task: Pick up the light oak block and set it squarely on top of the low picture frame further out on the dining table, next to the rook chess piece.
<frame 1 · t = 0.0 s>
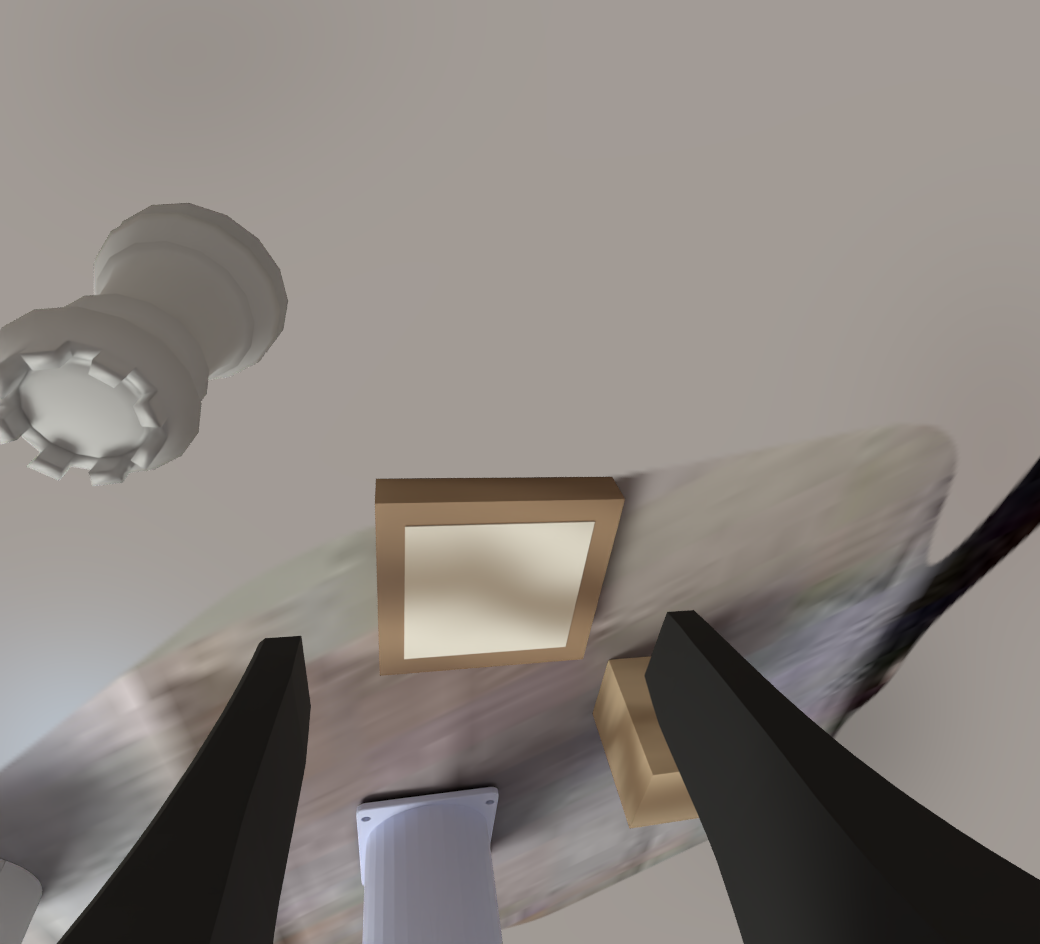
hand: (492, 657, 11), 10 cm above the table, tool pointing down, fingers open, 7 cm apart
oak block: (639, 683, 31), on the table
rook chess piece: (207, 284, 16), on the table
picture frame: (489, 567, 24), on the table
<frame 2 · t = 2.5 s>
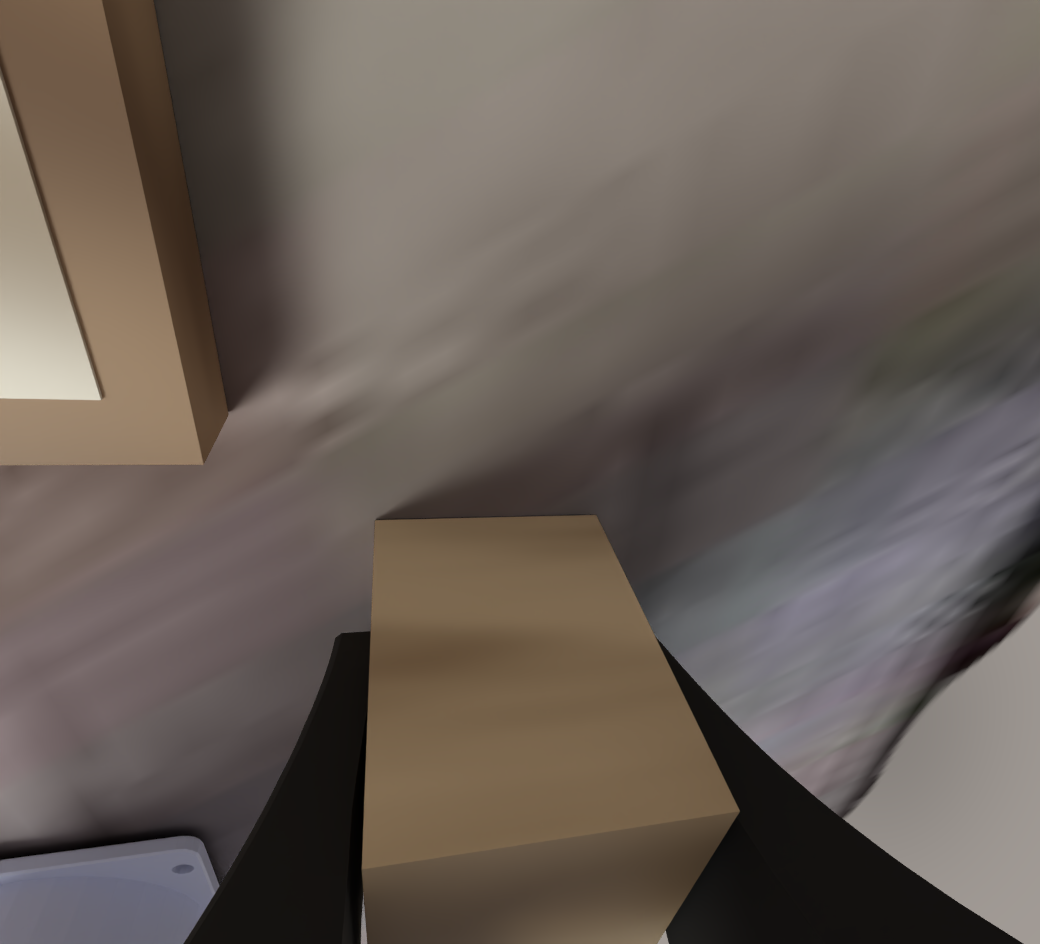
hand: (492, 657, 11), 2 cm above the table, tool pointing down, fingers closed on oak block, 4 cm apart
oak block: (481, 597, 13), on the table, touching gripper
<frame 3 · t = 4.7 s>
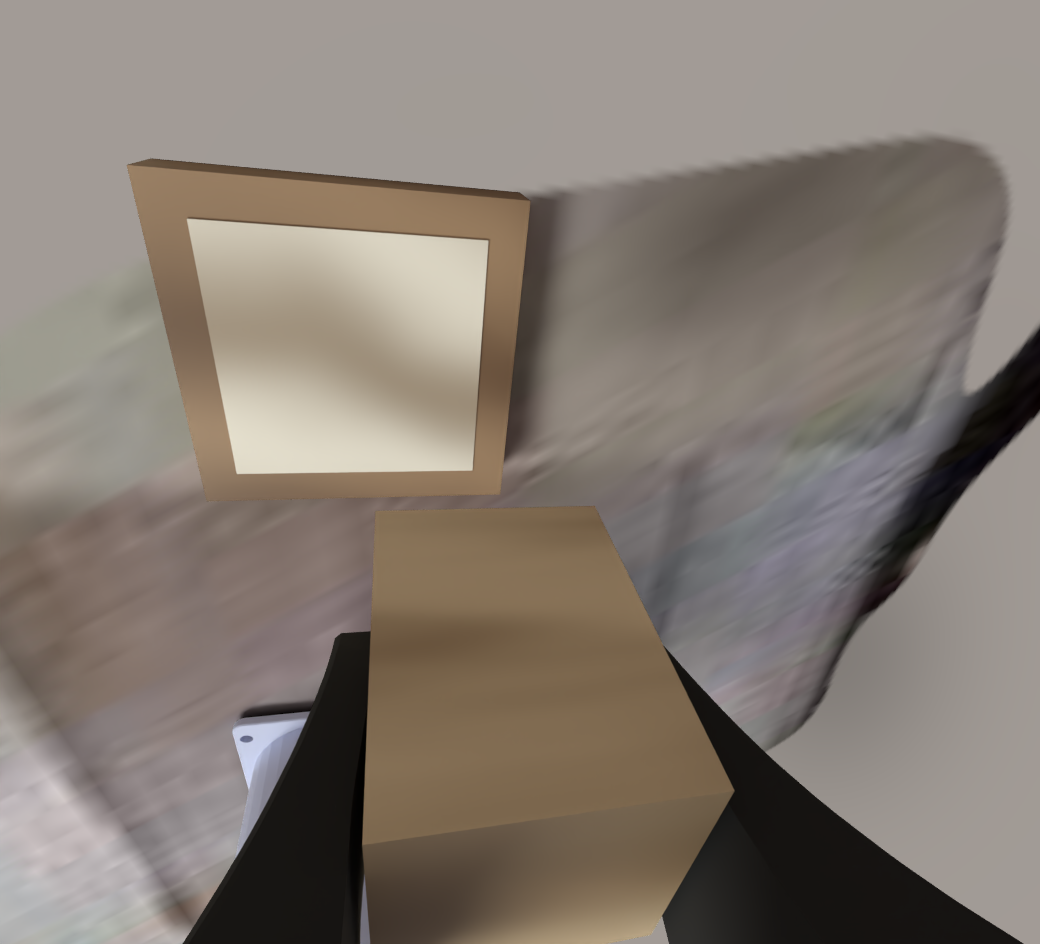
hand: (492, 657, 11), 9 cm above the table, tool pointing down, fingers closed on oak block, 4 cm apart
oak block: (481, 588, 13), point 8 cm above the table, touching gripper
picture frame: (356, 345, 17), on the table
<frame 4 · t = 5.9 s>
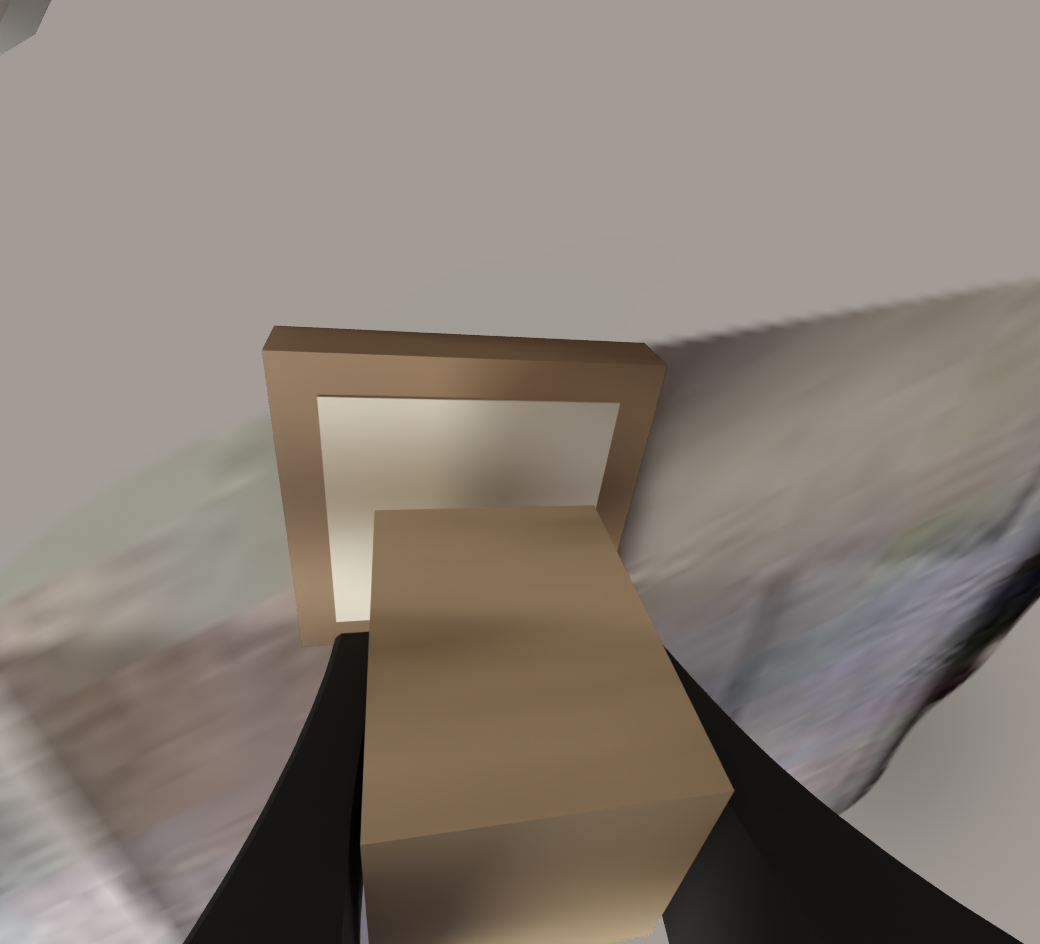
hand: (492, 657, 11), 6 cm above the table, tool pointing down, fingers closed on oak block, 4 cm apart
oak block: (480, 588, 13), point 4 cm above the table, touching gripper
picture frame: (461, 487, 16), on the table
when the fingers open (4 cm above the table, at t = 6.9 s): oak block stays where it is, resting on picture frame.
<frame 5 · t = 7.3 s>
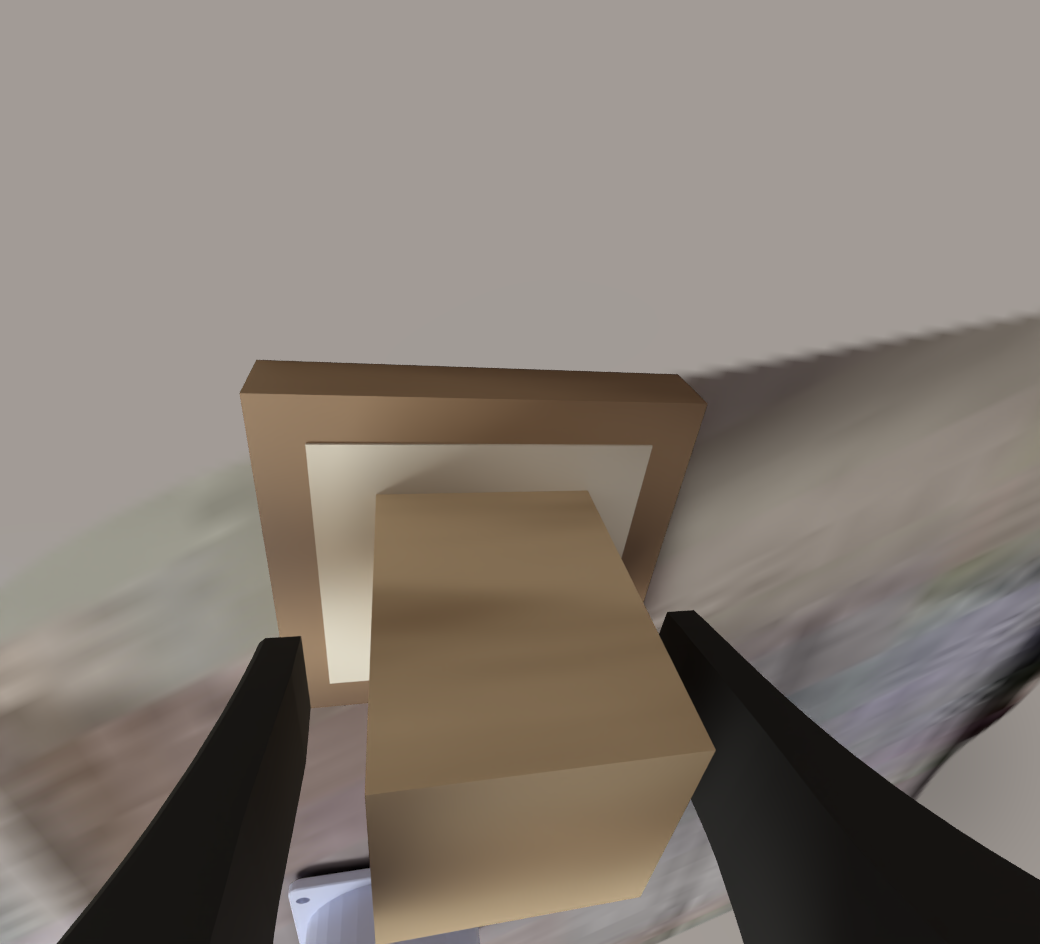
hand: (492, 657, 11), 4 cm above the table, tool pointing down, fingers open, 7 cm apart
oak block: (478, 571, 13), point 2 cm above the table, touching picture frame
picture frame: (470, 532, 14), on the table
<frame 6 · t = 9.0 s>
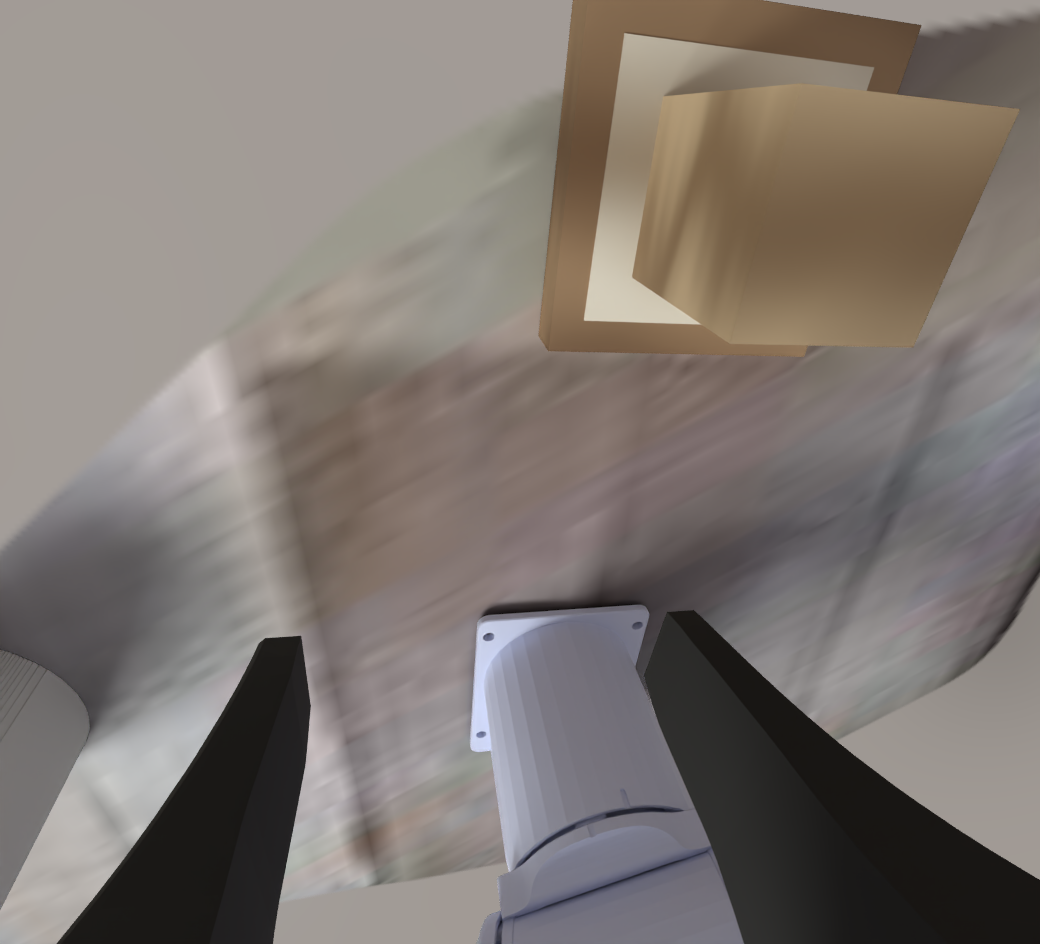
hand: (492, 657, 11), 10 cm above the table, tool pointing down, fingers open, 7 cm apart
oak block: (720, 198, 16), point 2 cm above the table, touching picture frame
picture frame: (695, 196, 17), on the table
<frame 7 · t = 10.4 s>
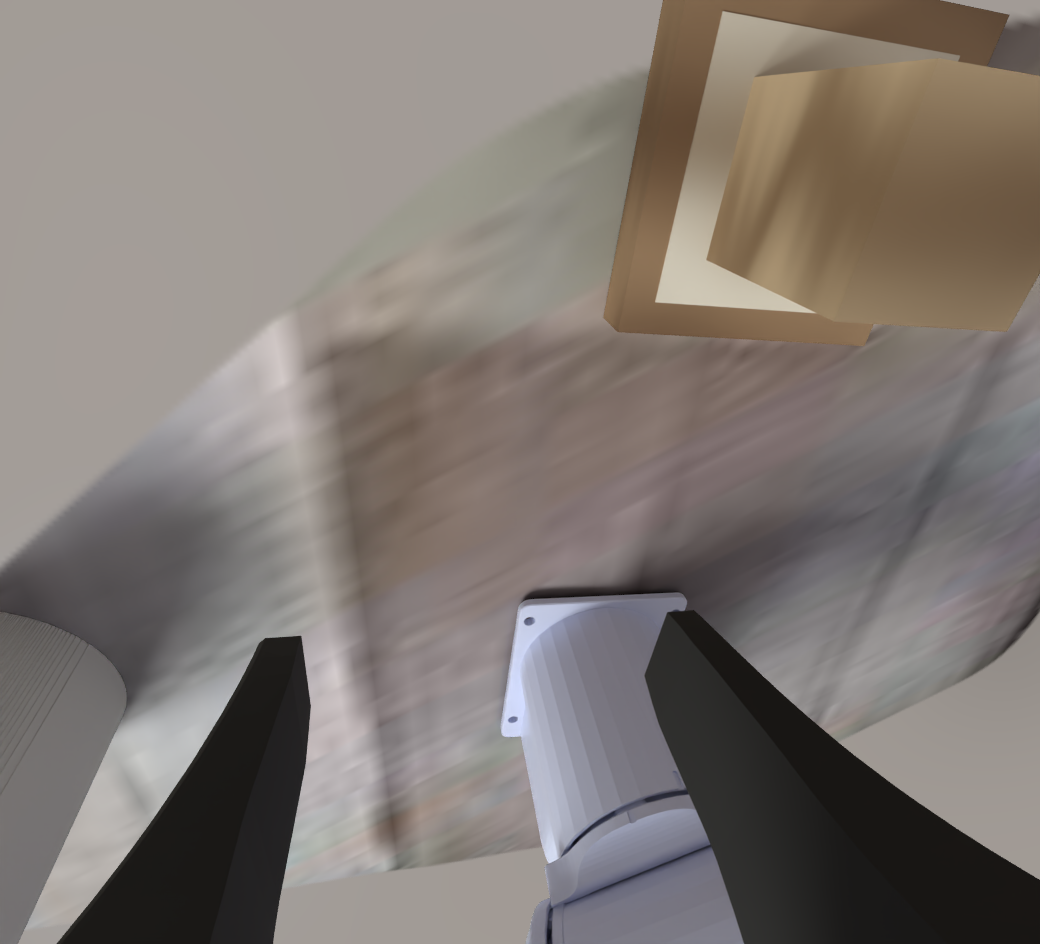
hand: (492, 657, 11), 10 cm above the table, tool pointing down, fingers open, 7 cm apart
oak block: (799, 183, 16), point 2 cm above the table, touching picture frame
picture frame: (768, 181, 17), on the table
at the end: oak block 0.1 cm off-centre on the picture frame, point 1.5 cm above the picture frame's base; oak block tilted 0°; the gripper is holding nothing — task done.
